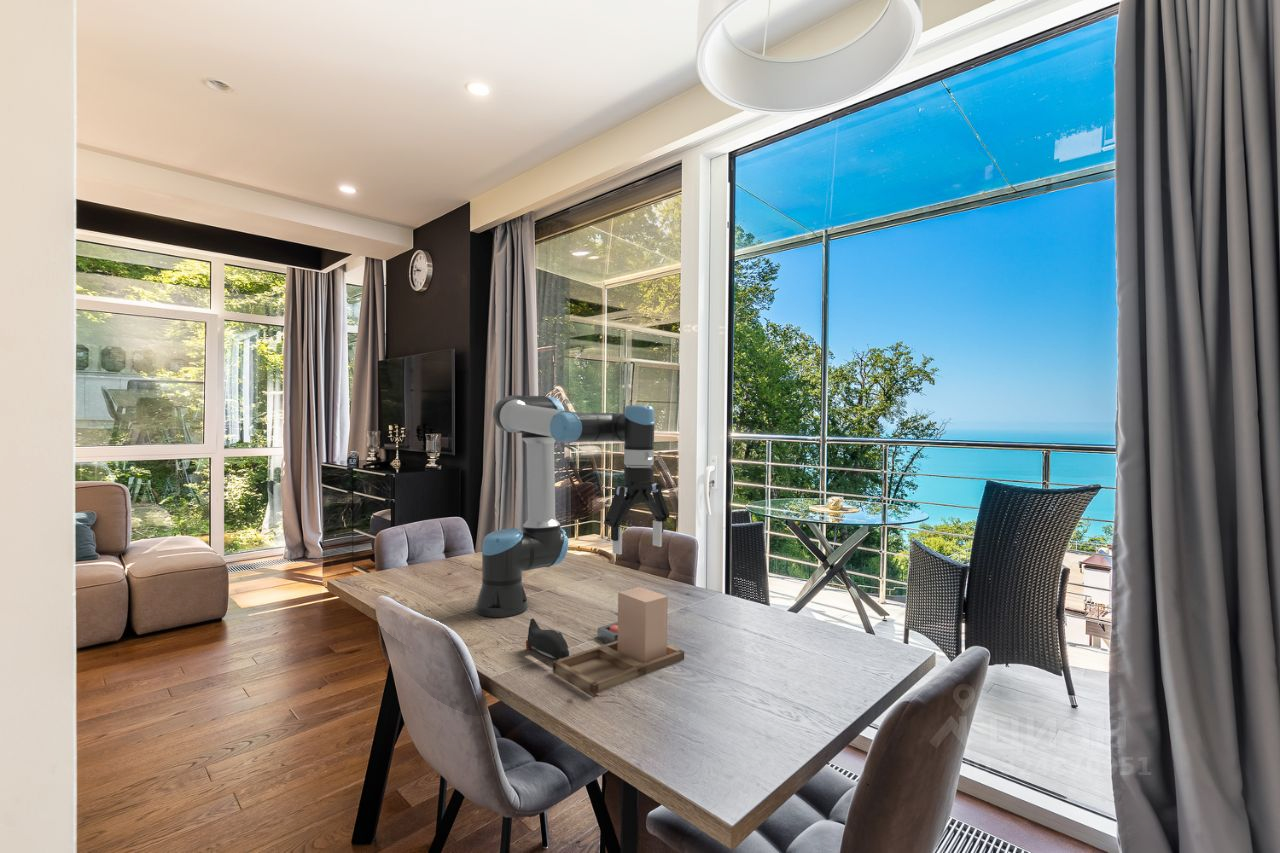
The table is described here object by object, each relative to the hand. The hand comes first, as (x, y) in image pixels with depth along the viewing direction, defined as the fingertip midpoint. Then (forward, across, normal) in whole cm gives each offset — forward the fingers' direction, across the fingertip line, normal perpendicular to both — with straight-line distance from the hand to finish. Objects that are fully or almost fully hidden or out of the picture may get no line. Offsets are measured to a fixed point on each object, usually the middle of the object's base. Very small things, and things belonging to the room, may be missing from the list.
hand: (637, 549), depth 147 cm
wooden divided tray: (+25, -11, -7) cm, 28 cm away
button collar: (+25, -2, +6) cm, 25 cm away
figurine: (+25, -21, +9) cm, 34 cm away
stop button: (+24, -2, +6) cm, 25 cm away
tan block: (+24, -4, -7) cm, 25 cm away
